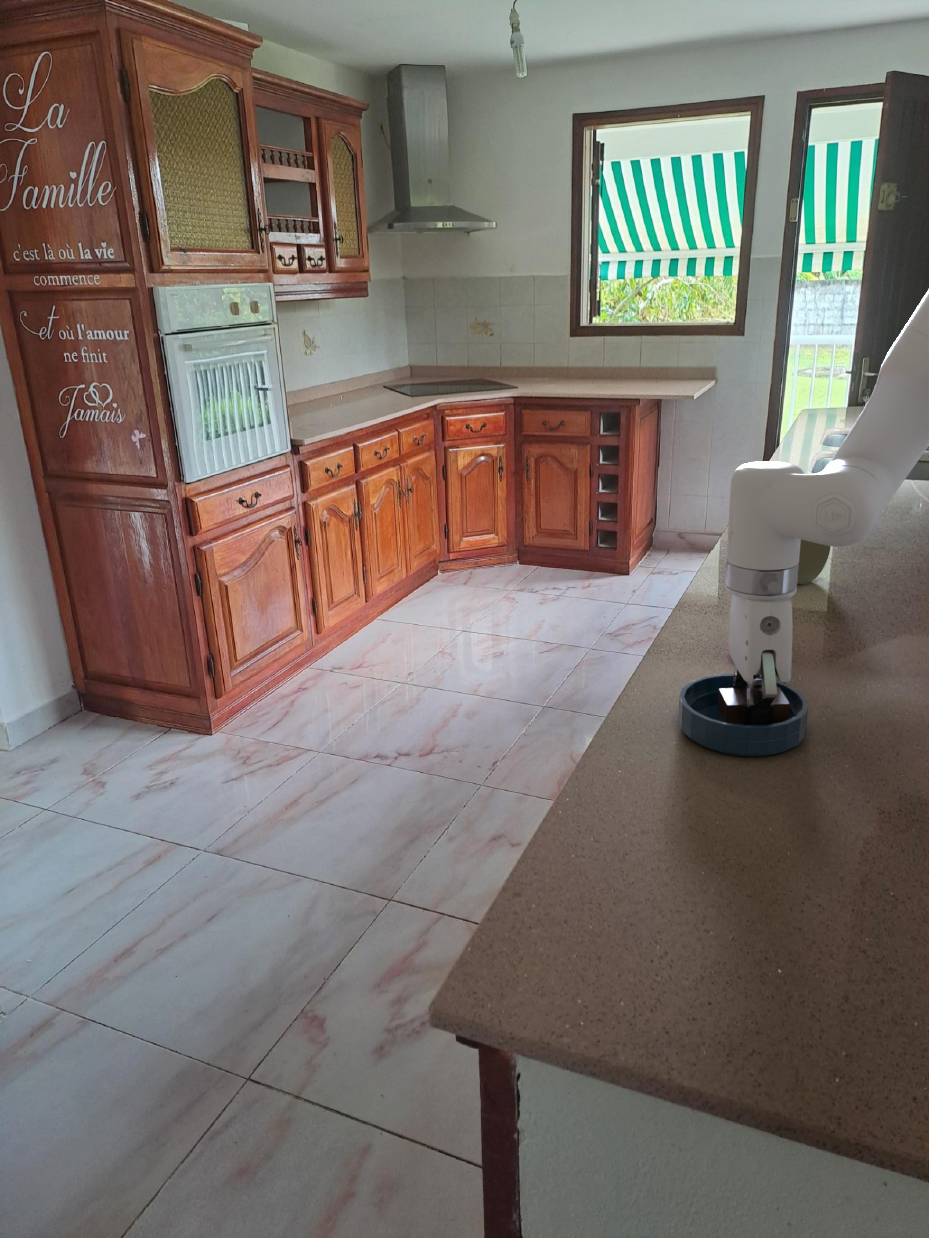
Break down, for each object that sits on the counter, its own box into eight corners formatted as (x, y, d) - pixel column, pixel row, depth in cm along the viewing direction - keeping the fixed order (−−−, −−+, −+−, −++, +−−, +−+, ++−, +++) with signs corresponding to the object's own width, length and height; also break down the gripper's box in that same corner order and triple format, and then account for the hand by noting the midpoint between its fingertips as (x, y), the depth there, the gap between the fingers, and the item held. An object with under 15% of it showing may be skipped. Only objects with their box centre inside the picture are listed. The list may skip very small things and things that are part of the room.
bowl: (784, 701, 110) (787, 672, 108) (822, 758, 97) (825, 725, 95) (669, 704, 111) (670, 675, 109) (690, 761, 97) (692, 728, 96)
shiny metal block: (776, 717, 105) (779, 686, 103) (787, 735, 100) (790, 703, 99) (716, 718, 105) (718, 688, 104) (725, 736, 101) (726, 705, 100)
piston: (770, 561, 163) (774, 502, 159) (827, 576, 154) (833, 513, 150) (729, 574, 157) (733, 513, 153) (786, 590, 148) (791, 525, 144)
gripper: (820, 601, 88) (805, 761, 95) (775, 553, 104) (764, 693, 110) (744, 603, 89) (734, 762, 95) (710, 555, 105) (704, 694, 111)
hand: (750, 723), depth 103 cm, fingers closed on shiny metal block, 4 cm apart
